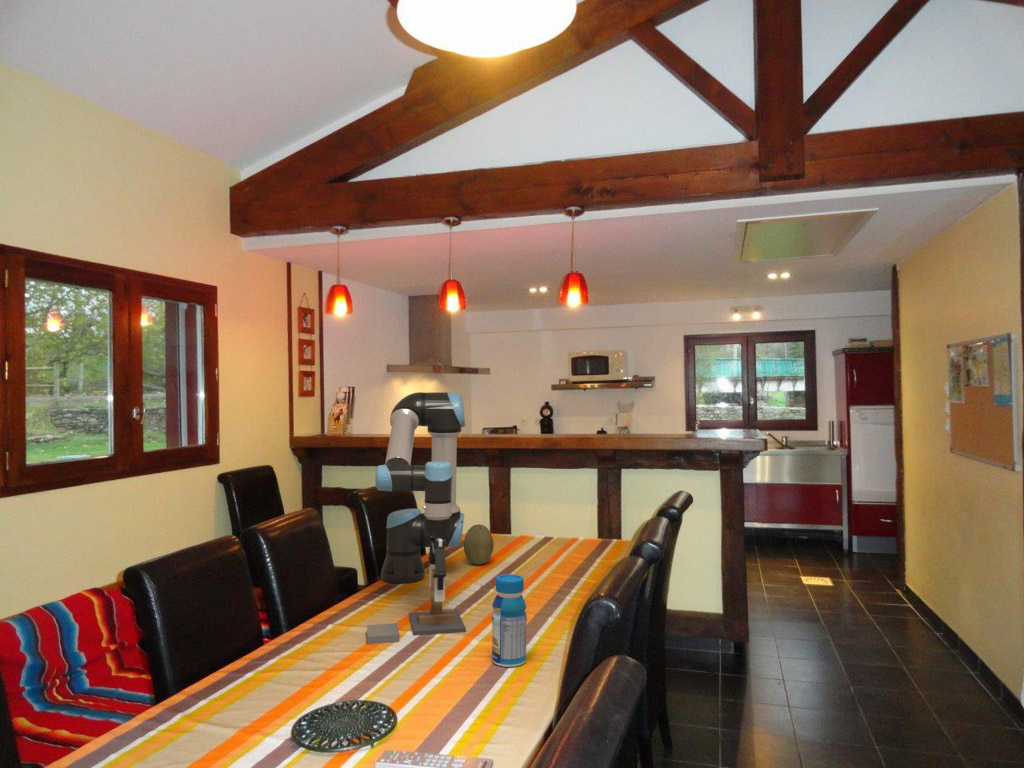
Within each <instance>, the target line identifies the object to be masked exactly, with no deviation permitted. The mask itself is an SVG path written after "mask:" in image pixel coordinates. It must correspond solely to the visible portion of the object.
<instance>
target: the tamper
mask: <svg viewBox="0 0 1024 768" xmlns="http://www.w3.org/2000/svg"><path fill="white" fill-rule="evenodd" d="M435 574H436V573H435V568H433V569H431V588H430V609H424V610H422V609H421V610H416V612H417V618H418V622H419V625H424V624H440V623H456V614H455V612H454V610H455V609H454V608H443V601H441V602H435V601H434V598H435V578H433V575H435Z"/></svg>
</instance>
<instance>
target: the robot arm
mask: <svg viewBox="0 0 1024 768" xmlns="http://www.w3.org/2000/svg"><path fill="white" fill-rule="evenodd" d="M389 423H390V426H391V429H390V435H389V441H388V445H387V452H386V457H385V463H384V464H381V465H378V466H377V467H376V469H375V479H374V480H375V488H376V489H377V490H378V491H380V492H390V493H391V492H424V505H422V510H424V513H423V512H422V510H421V508H414V507H413V508H405V509H399V510H395V511H392V512H391V513H389V514H388V516H387V519H386V549H385V550H386V556H385V558H384V561H383V564H382V568H381V570H380V571H381V572H380V579H381V580H382V581H384V582H388V583H395V584H404V583H405V584H407V583H413V582H418V581H422V580H424V579H425V577H426V569H425V566H424V562H423V560H422V556H421V548H429V552H428V554H429V555H428V560H429V561H428V562H429V576H428V577H429V579H428V580H429V581H428V582H429V583H428V584H429V585H428V587H429V589H431V569H433V568H435V573H436V574H435V575H433V578H435V598H434V601H435V602H441V601H442V602H445V601H446V577H447V565H446V548H447V549H448V548H453V547H456V548H457V547H458V546H459V545H460V544H461V540H462V536H463V529H464V523H465V522H464V521H465V513H463V512H461V507H460V506H459V505H458V504H457V454H458V453H457V449H458V448H457V446H458V444H457V442H458V436H459V435H460V434H461V432H462V428H464V427H466V418H465V408H464V402H463V396H462V394H460V393H458V392H446V391H445V392H444V391H443V392H441V391H440V392H436V391H435V392H414V393H410V394H408V395H407V396H404V397H403V398H402V399H401V400H399V401H398V402H397V403H396V405H394V407H393V409H392V410H391V413H390V417H389ZM418 427H427V433H428V434H429V435H430V436H431V461H427V462H426V463H425V465H418V464H415V465H413V464H412V455H413V447H414V439H415V431H416V430H417V428H418ZM411 464H412V465H411Z"/></svg>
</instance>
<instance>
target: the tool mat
mask: <svg viewBox="0 0 1024 768" xmlns="http://www.w3.org/2000/svg"><path fill="white" fill-rule="evenodd" d="M453 610H454V612H455V614H456V623H440V624H424V625H419V622H418V618H417V611H415V612H413V611H412V612H408V618H409V622H410V626H411V632H412V636H423V635H425V636H426V635H427V636H428V635H438V634H453V633H456V634H457V633H466V632H467V631H466V630H467V628H466V626H465V623H464V622H463V619H462V617H461V614H460V613H459V610H458V609H453Z"/></svg>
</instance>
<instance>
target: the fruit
mask: <svg viewBox="0 0 1024 768" xmlns="http://www.w3.org/2000/svg"><path fill="white" fill-rule="evenodd" d="M494 546H495V545H494V539H493V536H492V533H491V531H490V530H489V529H488V527H487V526H486V525H483V524H479V523H478V524H474V525H472V526H471V527H470V528H469V529H468V530H467V532H466V533H465V536H464V541H463V551H464V552H463V553H464V556H465V557H466V559H467V561H468V562H470V563H471V564H473V565H480V566H481V565H484V564H486V563H487V562H488V561H489V560H490V558H491V557H492V554H493V551H494Z"/></svg>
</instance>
